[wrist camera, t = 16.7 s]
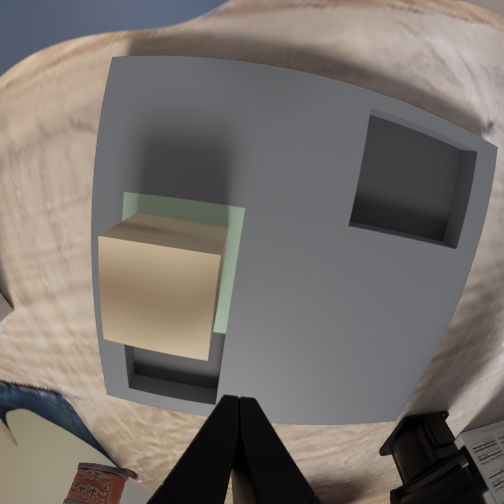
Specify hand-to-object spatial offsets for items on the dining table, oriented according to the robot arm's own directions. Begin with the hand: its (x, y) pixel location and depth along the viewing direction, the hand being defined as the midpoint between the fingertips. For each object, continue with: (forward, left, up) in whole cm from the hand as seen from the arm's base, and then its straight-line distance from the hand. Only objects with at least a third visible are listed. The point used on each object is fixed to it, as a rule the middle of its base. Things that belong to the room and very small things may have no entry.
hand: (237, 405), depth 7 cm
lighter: (-32, +14, -12) cm, 37 cm away
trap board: (-1, -3, -12) cm, 12 cm away
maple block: (0, +4, -10) cm, 10 cm away
